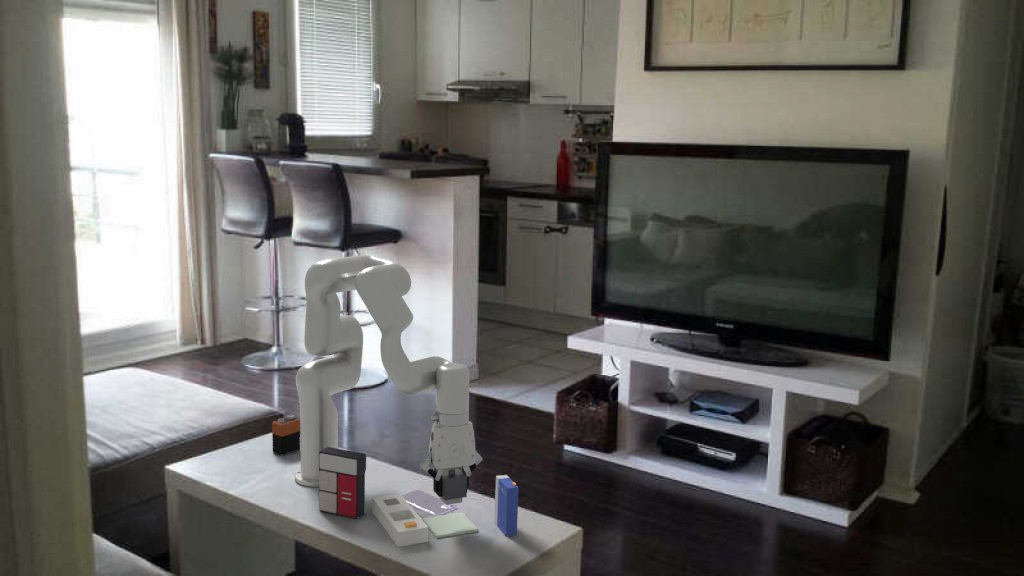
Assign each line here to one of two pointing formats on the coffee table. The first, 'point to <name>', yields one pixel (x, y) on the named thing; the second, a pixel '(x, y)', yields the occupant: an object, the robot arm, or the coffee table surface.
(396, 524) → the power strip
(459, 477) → the grey knobbed block
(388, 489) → the coffee table surface
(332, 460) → the red grey panelled box
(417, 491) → the mobile phone
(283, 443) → the battery
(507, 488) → the walkman
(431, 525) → the mat
